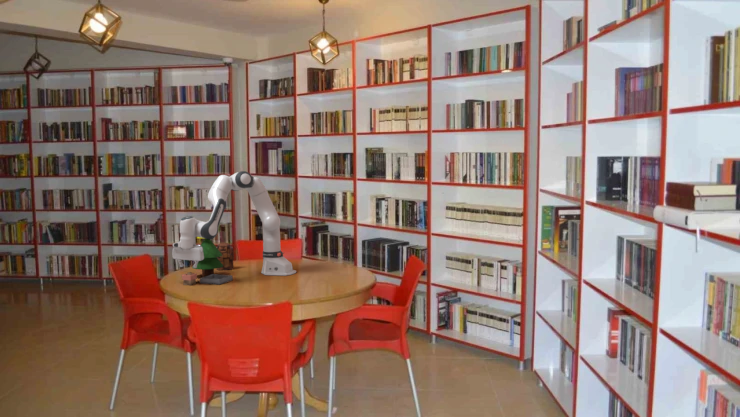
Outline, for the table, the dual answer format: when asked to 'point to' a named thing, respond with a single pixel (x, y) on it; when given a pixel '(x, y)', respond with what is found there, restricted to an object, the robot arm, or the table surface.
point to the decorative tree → (209, 258)
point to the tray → (216, 279)
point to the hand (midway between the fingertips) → (188, 267)
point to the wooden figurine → (226, 256)
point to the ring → (189, 277)
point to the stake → (187, 282)
